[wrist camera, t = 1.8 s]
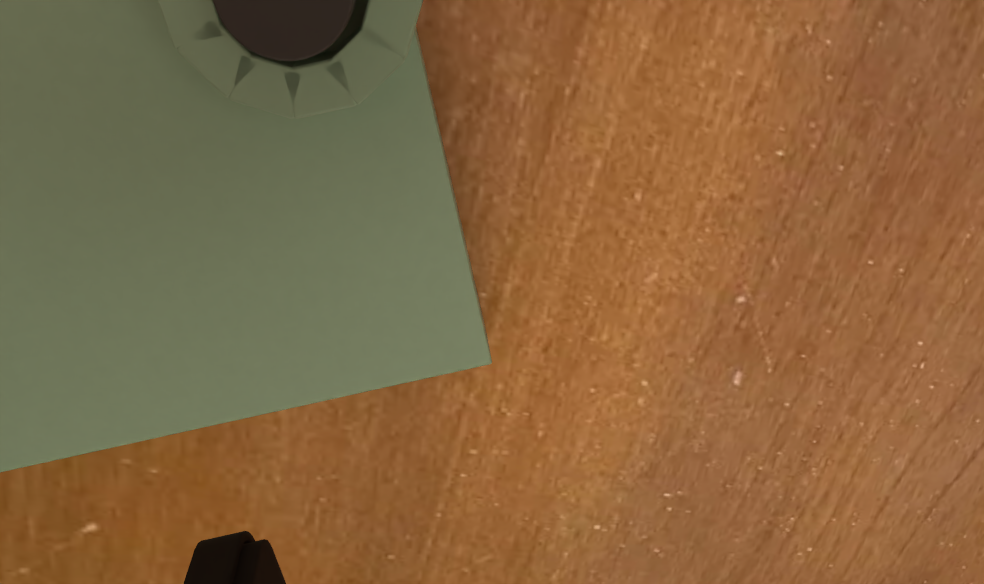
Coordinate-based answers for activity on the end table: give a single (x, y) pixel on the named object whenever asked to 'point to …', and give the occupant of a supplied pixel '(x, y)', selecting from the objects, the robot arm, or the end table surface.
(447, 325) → the scale
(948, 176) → the end table surface
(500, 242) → the end table surface
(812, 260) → the end table surface
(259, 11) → the button
